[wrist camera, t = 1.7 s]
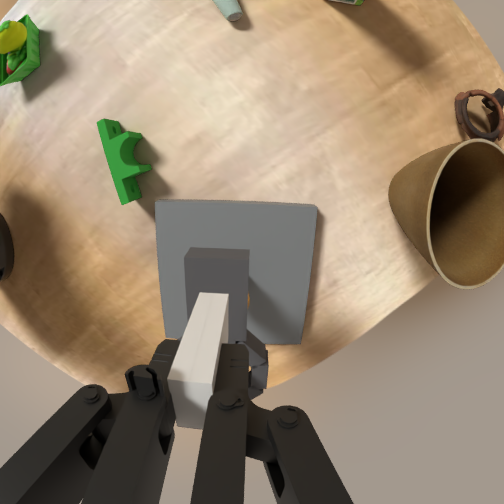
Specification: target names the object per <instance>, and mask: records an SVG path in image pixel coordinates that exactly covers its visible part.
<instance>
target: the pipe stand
mask: <svg viewBox="0 0 504 504" xmlns="http://www.w3.org/2000/svg"><path fill="white" fill-rule="evenodd" d="M317 208H318V207H317V206H315V205H313V204H297V203H279V202H258V201H230V200H170V199H160V200H158V201H156V202H155V221H156V241H157V257H158V270H159V282H160V292H161V302H162V311H163V319H164V327H165V335H166V338H176V339H179V338H180V337H181V336H182V335H184V332H185V329H186V327H187V324H188V319H187V305H186V290H185V271H184V256H185V255H186V253H187V252H188V250H189V249H190V247H198V248H224V249H250V256H249V282H248V292H249V296H250V303H249V307H248V309H247V329H248V330H249V331H250V332H251V333H252V334H253V335H254V336H256V337H257V338H258V339H259V340H260V341H261V342H262V343H264V344H301V339H302V333H303V326H304V320H305V313H306V306H307V298H308V291H309V283H310V275H311V267H312V258H313V249H314V239H315V229H316V219H317Z"/></svg>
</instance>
